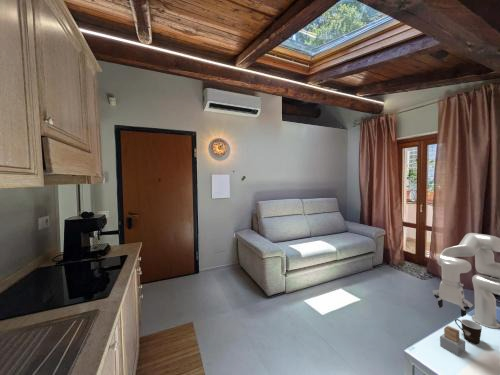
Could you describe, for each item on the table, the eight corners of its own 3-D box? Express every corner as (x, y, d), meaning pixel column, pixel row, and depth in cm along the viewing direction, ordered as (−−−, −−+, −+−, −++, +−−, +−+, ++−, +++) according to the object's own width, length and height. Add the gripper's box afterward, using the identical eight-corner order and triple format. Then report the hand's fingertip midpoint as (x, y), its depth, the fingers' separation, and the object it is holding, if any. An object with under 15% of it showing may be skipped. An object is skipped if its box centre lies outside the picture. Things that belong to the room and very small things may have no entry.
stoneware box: (447, 341, 124) (447, 331, 124) (465, 351, 117) (465, 340, 117) (440, 346, 121) (439, 335, 121) (458, 356, 114) (457, 345, 113)
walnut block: (447, 333, 122) (447, 325, 122) (459, 338, 118) (459, 330, 118) (444, 336, 120) (444, 328, 120) (456, 342, 115) (455, 333, 115)
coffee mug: (486, 346, 119) (486, 329, 119) (469, 345, 120) (468, 328, 120) (469, 332, 130) (469, 316, 130) (453, 330, 132) (453, 315, 132)
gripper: (474, 286, 112) (475, 317, 112) (434, 275, 127) (435, 301, 128) (469, 290, 109) (470, 322, 109) (429, 278, 124) (430, 305, 124)
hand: (451, 311), depth 118 cm, fingers open, 9 cm apart
